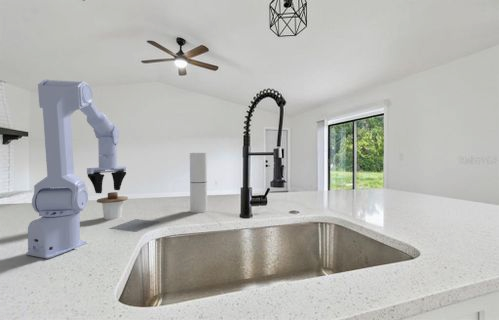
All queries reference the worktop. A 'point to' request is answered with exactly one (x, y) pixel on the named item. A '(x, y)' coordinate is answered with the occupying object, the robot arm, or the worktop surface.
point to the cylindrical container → (198, 182)
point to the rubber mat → (135, 225)
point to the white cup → (112, 210)
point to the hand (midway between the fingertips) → (108, 191)
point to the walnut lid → (112, 198)
